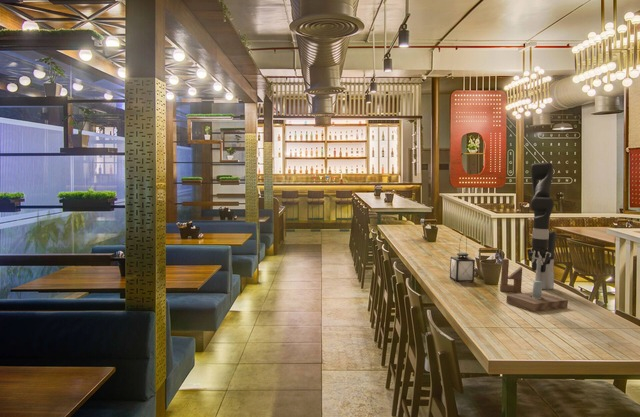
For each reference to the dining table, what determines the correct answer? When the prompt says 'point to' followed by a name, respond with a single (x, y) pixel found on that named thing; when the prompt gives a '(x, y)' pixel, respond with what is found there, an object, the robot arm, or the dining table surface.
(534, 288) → the peg
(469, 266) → the lantern
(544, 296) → the socket block
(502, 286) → the brown wedge-headed part
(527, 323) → the dining table surface
